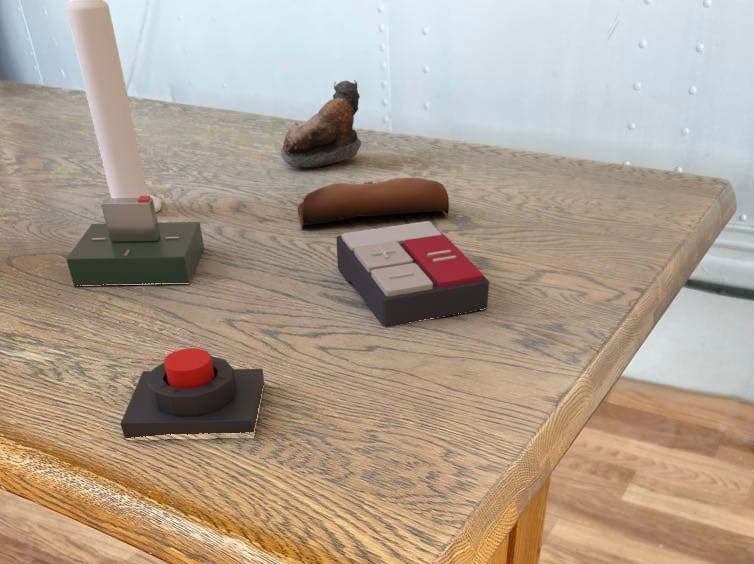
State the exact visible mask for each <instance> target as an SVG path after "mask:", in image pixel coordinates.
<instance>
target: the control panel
mask: <svg viewBox="0 0 754 564" xmlns="http://www.w3.org/2000/svg"><path fill="white" fill-rule="evenodd" d="M158 226H159V231H160V237H159V239H158V241H136V242H111V241H110V237H109V233H108V229H107V225H106V223H91V224H90V226H89V227H88V228H87V230H86V231H85V233H84V234H83V235H82V237H81V238H80V239H79V241H78V242H77V243H76V245H75V246H74V247H73V249H72V250H71V252H70V253H69V254H68V256H67V257H66V263H67V267H68V270H69V274H70V277H71V281H72V284H73V287H74V286H77V285H78V286H80V285H81V286H82V285H103V284H104V285H106V284H142V283H143V284H145V283H146V284H148V283H150V284H151V283H154V284H155V283H161V284H162V283H189V282H190V280H191V281H192V279H193V277H192V275H193V276H194V274H195V271H196V269H197V267H198V265H199V262H200V259H201V257H202V255H203V251H204V250H205V244H204V238H203V233H202V232H203V231H202V227H201V222H200V221H179V222H178V221H177V222H176V221H175V222H174V221H173V222H171V221H170V222H167V221H166V222H158ZM191 278H192V279H191ZM190 283H191V282H190Z"/></svg>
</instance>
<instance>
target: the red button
mask: <svg viewBox="0 0 754 564" xmlns="http://www.w3.org/2000/svg"><path fill="white" fill-rule="evenodd" d="M211 356H212V355H211V354H210V352H209V351H208V350H205V349H203V348H197V347H196V348H195V347H187V348H181V349H178V350H174V351H173V352H171V353H169V354H168V355H166V356H165V358H164V360H163V362H164V366H165V370H166V375H167V379H168V383H169V385H170V386H172V387H175V388H178V389H188V388H196V387H199V386H203V385H206V384H208V383H210V382H211V381H212V380H214V377H215V376H214V370H213V365H212V359H211Z"/></svg>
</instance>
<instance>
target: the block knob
mask: <svg viewBox="0 0 754 564" xmlns="http://www.w3.org/2000/svg"><path fill="white" fill-rule="evenodd" d="M150 196H151V195H150ZM150 196H140V197H139V198H111V197H109V198H104V199H103V200H102V202H101V203H100V205H101V209H102V214H103V217H104V221H105V224H106V225H107V229H108V233H109V237H110V241H111V242H136V241H158V239H159V237H160V231H159V226H158V223H159V221H158V217H157V216H158V215H157V213H156V211H155V207H154V202H153V198H150Z"/></svg>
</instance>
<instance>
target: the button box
mask: <svg viewBox="0 0 754 564" xmlns="http://www.w3.org/2000/svg"><path fill="white" fill-rule="evenodd" d="M211 359H212V365H213V370H214V376H215V377H214V380H212V381H211V382H210V383H208V384H206V385H203V386H199V387H196V388H188V389H178V388H175V387H172V386H170V385H169V383H168V379H167V375H166V370H165V366H164V361H163V362H162V363H160V364H158V365H157V366H155V367H154V368H152V370H143V371H142V372H141V374H140V377H139V379H138V381H137V384H136V385H135V389H134V391H133V393H132V395H131V398H130V400H129V402H128V405H127V407H126V410H125V411H124V414H123V416H122V419H121V420H120V426H121V430H122V435H123V437H124V439H125V438H131V437H134V438H135V437H140V436H141V437H143V436H145V437H146V436H155V435H164V434H165V435H166V434H170V435H171V434H187V435H188V434H199V433H202V434H204V433H208V434H210V433H240V432H241V433H245V432H249V433H250V432H254V428H255V423H256V418H257V414H258V408H259V404H260V399H261V394H262V389H263V385H264V384H265V378H264V370H263V368H233V366H232V365H231V364H230V363H229V362H228V361H227V360H226V359H224V358H222V357H221V358H220V357H217V356H213V355H211Z"/></svg>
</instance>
